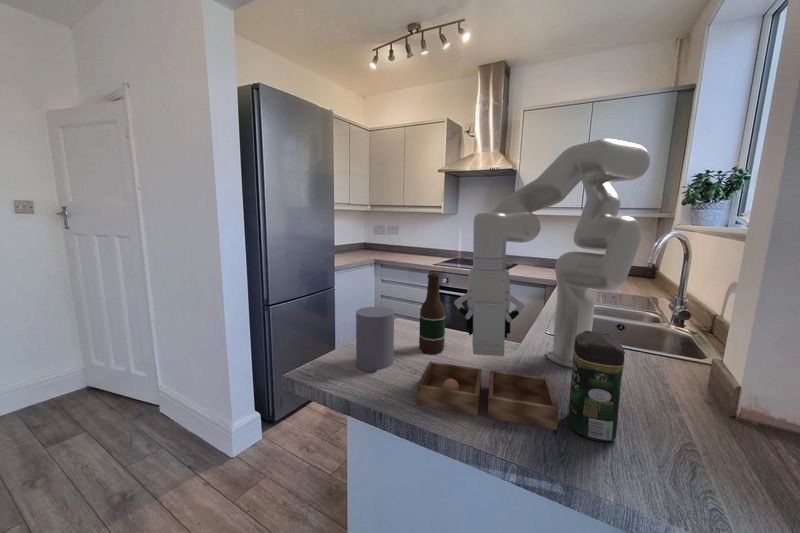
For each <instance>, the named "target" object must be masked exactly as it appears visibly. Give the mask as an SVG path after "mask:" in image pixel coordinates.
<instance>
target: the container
mask: <svg viewBox="0 0 800 533" xmlns="http://www.w3.org/2000/svg"><path fill="white" fill-rule="evenodd" d="M355 337H356V338H355V339H356V340H355V343H356V344H355V348H356V349H355V352H356V355H355V357H356V358H355V362H356V364H355V365H356V366H357V367H358V368H359V369H360V370H363V371H366V372H371V373H375V372H378V370H383V369H388V368H389V367H391V366H393V364H394V357H395V356H394V355H395V354H394V352H395V351H394V350H395V348H394V346H395V345H394V344H395V343H394V342H395V311H394V309H392V308H389V307H385V306H384V307H383V306H367V307H366V306H365V307H362V308H359V309H357V310H356V312H355Z"/></svg>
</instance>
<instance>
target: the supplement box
mask: <svg viewBox="0 0 800 533" xmlns="http://www.w3.org/2000/svg"><path fill="white" fill-rule="evenodd" d="M472 317H473V332H472V353H473V355H475V356H476V355H477V356H493V357H494V356H495V357H504V356H505V339H506V338H505V304H493V303H474V310H473V314H472Z"/></svg>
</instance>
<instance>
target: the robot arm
mask: <svg viewBox="0 0 800 533" xmlns="http://www.w3.org/2000/svg"><path fill="white" fill-rule="evenodd" d="M650 164H651V157H650V153H649V152H648V150H647V149H646V147H644V146H643V145H641V144H637V143H633V142H628V141H623V140H618V139H612V138H601V139H597V140H591V141H587V142H584V143H580V144H575V145H572V146H570V147H568V148H566V149H564V151H562V152H561V153H560V154H559V155H558V156H557V157H556V158H555V159H554V160H553V161H552V163H551V164H550V165H548V167H546V169H544V171H543V172H541V174H540V175H539V176H538V177H537V178H535V179H534V180H533V181H531V182H529V183H527V184H526V185H524V186H522V187H521V188H519V189H518V190H516V191H514V192H513V193H511V194H510V195H507V197H505V198H504V199H502V201H500V202H499V203H498V204H497V205H496V206H495V207H494V209H492V211H491V212H479V213H477V214H475V215H474V218H473V241H472V242H473V253H472V254H473V258H472V262H473V263H472V265H473V266H472V268H470V270H469V275H468V281H467V282H468V284H467V292H466V293H464V294H463V295H461V296H460V297H458V298H457V299H455V300H454V306H455V307H456V308H457V309H458V312H460V313H461V315H463V317H464V318H465V320H466V327H465V328H466V331H468V335H469V336H473V310H474V303H493V304H505V339H508V334H511V323H512V322H513V320H514V319H515V318H516V317H518V316H519V315H520V313H521V312H522V311H523V310H524V309H525V307H526V306H525V304H524V303H523V302H522V301H520V300H519V298H516V297H515V296H514V295H512V294H511V276H510V272H509V269H506V268H508V267H509V266H510V267H512V266H513V260H512V259H508V258H507V255H506V254H507V252H506V251H507V242H510V243H522V244H523V243H528V242H530V241H532V240H534V239H536V238H537V237H538V236H539V234H540V231H541V221H540V219H539V217H538V216H537V215H536V214H535V213H534V212H537V211H540V210H543V209H544V210H545V209H547V208H550V207H553V206H555V205H558V204H559V203H561V202H562V201H564V199H566V198H567V196H568V195H569V194H570V193H571V192H572V191H573V189H574V188H575V187H576V186H577V185H578V184H580V182H581V183H582V185H583V188H584V191H585V195H586V196H585V199H586V200H585V204H584V206H583V209H582V212H581V214H580V217H579V219H578V222H577V225H576V227H575V231H574V233H573V242H574V244H575V246H576V247H578V248H580V249H583V250H587V251H599V252H605V253H593V252H585V251H568V252H565V253H563V254H562V255H560V256H559V257H558V258H557V260H556V262H555V270H554V272H555V279H556V303H555V304H556V306H555V316H554V317H555V318H554V329H553V339H552V340H553V343H552V348H549V349H547V350H546V357H547V359H548V360H550V361H552V362H553V363H556V364H557V365H561V366H564V367H567V368H572V363H573V354H574V345H575V338H576V336H577V335H578V334H580V333H582V332H584V331H593V325H594V322H593V321H594V315H595V314H594V313H595V299H594V296H593V293H592V291H591V289H592V290H597V291H602V292H607V293H609V292H617V291H619V289H621V288H622V287H623V286H624V284H625V282H626V280H627V278H628V275H629V273H630V270H631V268H632V265H633V263H634V261H635V258H636V255H637V252H638V249H639V247H640V244H641V240H642V227H641V225H640V222H639V221H638V220H637V219H636V218H634V217H631V216H626V215H618V214H619V211H620V207H621V199H620V198H621V197H620V196H619V194H618V193H617V191H616V190H615V188H614V186H613V185H612V183H615V182H624V181H632V180H633V181H634V180H637V179H640V178H641V177H643V176H644V175H645V174H646V173H647V171H648V170H649V168H650ZM465 301H466V305H467V308H466V307H465V306H464V305H463V304H462V303H464V302H465ZM511 304H513V305H515V306H516V307H515V308H514V309H513V310H511V312H510V309H511Z"/></svg>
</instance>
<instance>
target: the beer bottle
mask: <svg viewBox="0 0 800 533" xmlns="http://www.w3.org/2000/svg"><path fill="white" fill-rule="evenodd" d="M440 278H441V276H440V273H437V272H431V273H428V274H427V291H426V297H425V300H424V301H423V303H422V304H421V308H420V311H419V312H420V313H419V335H418V336H419V337H418V340H419V342H418V344H419V347H418V348H419V350H420V351H421V352H422V351H423V352H424V353H423V352H422V353H423V354H427V353H429V354H428V355H432V354H433V355H439V354H438V353H440V354H442V352H443V351H444V349H445V338H446V337H445V336H446V335H445V334H446V332H445V331H446V330H445V329H446V309H445V306H444V304H443V302H442V300H441V296H440Z"/></svg>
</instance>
